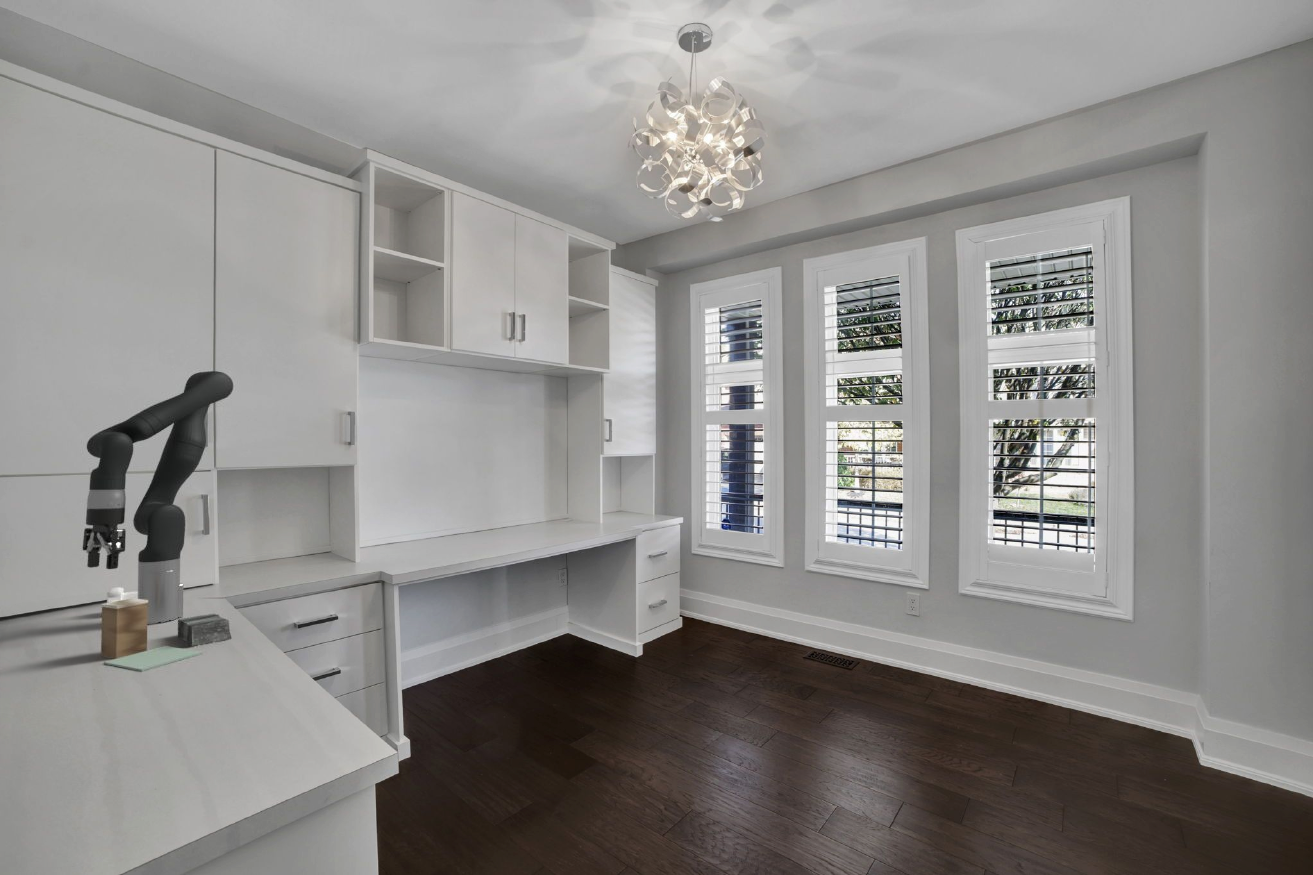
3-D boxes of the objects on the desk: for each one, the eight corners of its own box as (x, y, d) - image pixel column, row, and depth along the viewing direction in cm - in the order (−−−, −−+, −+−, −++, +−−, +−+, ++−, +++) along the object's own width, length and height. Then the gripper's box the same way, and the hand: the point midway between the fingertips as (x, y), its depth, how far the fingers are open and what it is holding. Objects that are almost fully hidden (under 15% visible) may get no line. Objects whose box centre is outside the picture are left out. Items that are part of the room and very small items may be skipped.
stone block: (219, 629, 159) (219, 610, 159) (235, 639, 149) (235, 619, 150) (177, 637, 152) (177, 616, 152) (191, 648, 143) (191, 626, 143)
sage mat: (165, 647, 143) (165, 645, 143) (202, 653, 138) (202, 652, 138) (103, 663, 132) (103, 661, 132) (141, 671, 126) (141, 669, 126)
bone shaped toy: (105, 620, 171) (105, 592, 171) (110, 611, 178) (110, 584, 178) (171, 611, 180) (171, 585, 180) (173, 603, 187) (174, 578, 187)
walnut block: (131, 648, 143) (132, 598, 143) (147, 650, 140) (148, 600, 141) (100, 656, 137) (101, 604, 137) (116, 659, 135) (117, 606, 135)
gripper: (139, 506, 158) (135, 567, 157) (107, 505, 163) (104, 564, 162) (104, 507, 151) (100, 571, 150) (73, 506, 156) (68, 568, 155)
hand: (102, 567), depth 156 cm, fingers open, 8 cm apart
